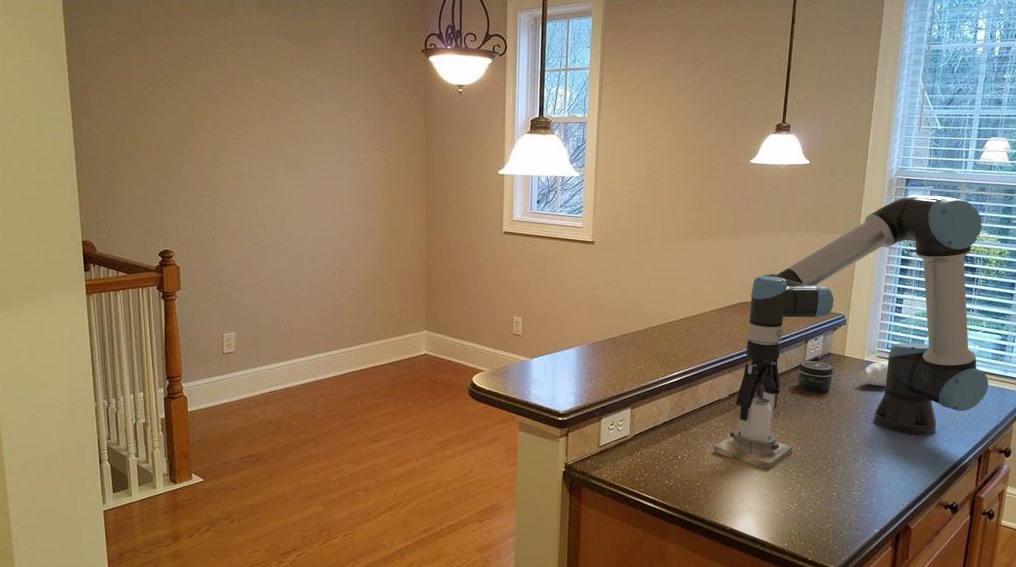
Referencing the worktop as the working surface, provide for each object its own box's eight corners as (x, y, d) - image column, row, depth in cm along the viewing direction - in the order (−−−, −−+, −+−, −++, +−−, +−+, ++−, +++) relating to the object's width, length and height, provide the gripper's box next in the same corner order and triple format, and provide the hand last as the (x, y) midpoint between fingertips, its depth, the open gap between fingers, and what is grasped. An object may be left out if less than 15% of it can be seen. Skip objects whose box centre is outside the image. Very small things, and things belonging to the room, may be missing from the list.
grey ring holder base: (791, 452, 183) (793, 435, 182) (769, 469, 173) (771, 451, 172) (738, 436, 192) (739, 420, 191) (713, 452, 182) (715, 434, 181)
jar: (831, 386, 238) (833, 363, 237) (830, 395, 229) (832, 371, 228) (797, 381, 242) (800, 358, 241) (795, 389, 233) (798, 366, 232)
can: (746, 452, 178) (750, 404, 176) (735, 441, 185) (739, 395, 183) (771, 451, 179) (776, 404, 177) (760, 441, 185) (765, 395, 183)
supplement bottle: (778, 409, 214) (782, 372, 212) (756, 407, 215) (760, 370, 213) (775, 402, 220) (778, 366, 218) (754, 401, 221) (757, 364, 219)
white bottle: (851, 383, 242) (854, 360, 240) (895, 379, 248) (898, 356, 247) (871, 391, 234) (874, 367, 233) (915, 386, 241) (918, 363, 239)
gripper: (757, 353, 166) (748, 442, 169) (798, 335, 184) (790, 416, 188) (726, 347, 170) (718, 433, 174) (769, 329, 189) (761, 408, 193)
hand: (755, 425), depth 181 cm, fingers open, 13 cm apart
